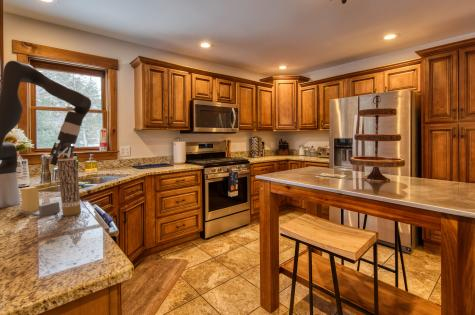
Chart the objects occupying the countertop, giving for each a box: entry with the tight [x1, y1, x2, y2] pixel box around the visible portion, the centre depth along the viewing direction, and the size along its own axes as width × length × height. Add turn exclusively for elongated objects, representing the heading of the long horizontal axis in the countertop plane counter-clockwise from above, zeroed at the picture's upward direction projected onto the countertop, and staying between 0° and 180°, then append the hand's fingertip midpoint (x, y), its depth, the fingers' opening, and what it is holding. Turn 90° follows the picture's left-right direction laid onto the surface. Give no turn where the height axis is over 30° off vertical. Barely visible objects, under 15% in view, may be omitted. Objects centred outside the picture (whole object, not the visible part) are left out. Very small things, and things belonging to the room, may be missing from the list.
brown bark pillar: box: [57, 157, 82, 217], centre depth 109 cm, size 7×7×25 cm
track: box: [18, 201, 61, 217], centre depth 113 cm, size 18×7×5 cm, turn 67°
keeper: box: [20, 186, 40, 212], centre depth 115 cm, size 4×4×11 cm
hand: (58, 164), depth 118 cm, fingers open, 8 cm apart
